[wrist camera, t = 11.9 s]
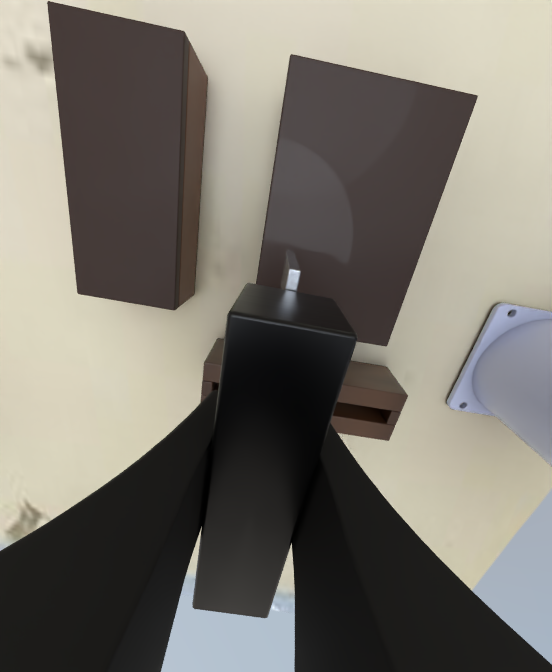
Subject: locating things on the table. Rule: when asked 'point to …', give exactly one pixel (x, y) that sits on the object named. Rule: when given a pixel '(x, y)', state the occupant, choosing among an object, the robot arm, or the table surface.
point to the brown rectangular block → (130, 153)
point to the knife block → (343, 397)
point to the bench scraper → (267, 437)
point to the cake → (358, 185)
